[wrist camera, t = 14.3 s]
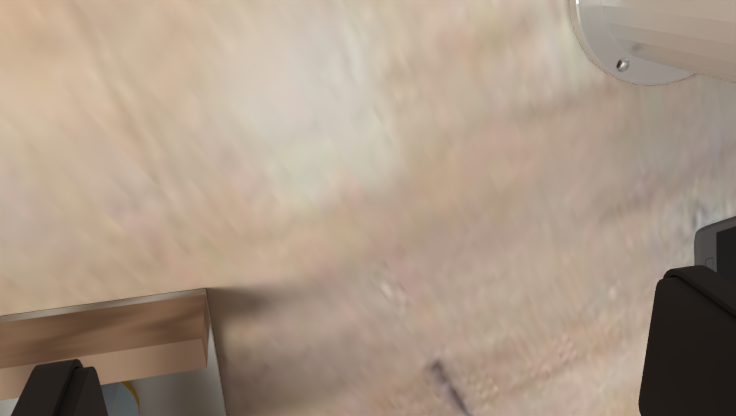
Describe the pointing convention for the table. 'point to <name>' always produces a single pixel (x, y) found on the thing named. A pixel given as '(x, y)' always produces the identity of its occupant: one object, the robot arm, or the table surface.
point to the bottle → (120, 399)
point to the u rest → (123, 350)
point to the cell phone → (718, 248)
